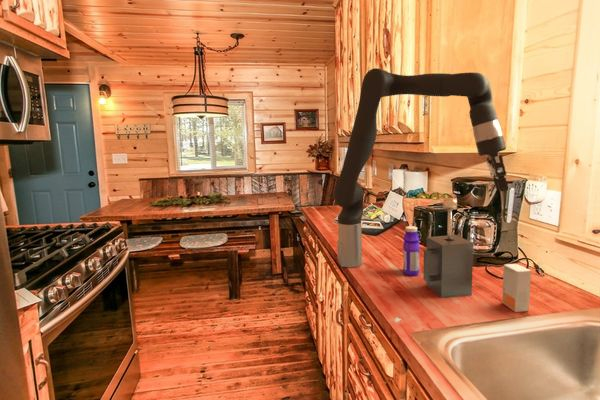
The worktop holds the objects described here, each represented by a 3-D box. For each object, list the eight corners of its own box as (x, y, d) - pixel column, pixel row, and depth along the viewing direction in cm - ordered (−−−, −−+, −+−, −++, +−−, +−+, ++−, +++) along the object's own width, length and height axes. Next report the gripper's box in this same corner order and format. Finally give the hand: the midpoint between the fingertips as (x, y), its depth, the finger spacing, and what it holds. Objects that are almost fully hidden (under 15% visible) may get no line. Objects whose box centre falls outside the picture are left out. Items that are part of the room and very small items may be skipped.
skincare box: (501, 303, 106) (503, 264, 104) (515, 302, 106) (517, 263, 104) (515, 312, 100) (517, 271, 98) (529, 311, 100) (532, 270, 98)
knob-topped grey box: (432, 298, 110) (432, 246, 108) (417, 286, 120) (418, 237, 118) (471, 295, 112) (473, 242, 109) (454, 282, 122) (455, 234, 119)
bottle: (420, 277, 128) (420, 229, 126) (403, 276, 130) (404, 229, 127) (418, 269, 135) (418, 224, 133) (402, 269, 137) (402, 224, 134)
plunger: (443, 263, 110) (444, 201, 107) (430, 255, 118) (431, 197, 115) (467, 261, 111) (469, 199, 108) (453, 253, 119) (455, 196, 116)
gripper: (473, 142, 117) (486, 190, 117) (477, 140, 104) (491, 194, 104) (499, 136, 114) (511, 185, 114) (506, 132, 101) (520, 188, 101)
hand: (502, 189), depth 109 cm, fingers open, 8 cm apart
